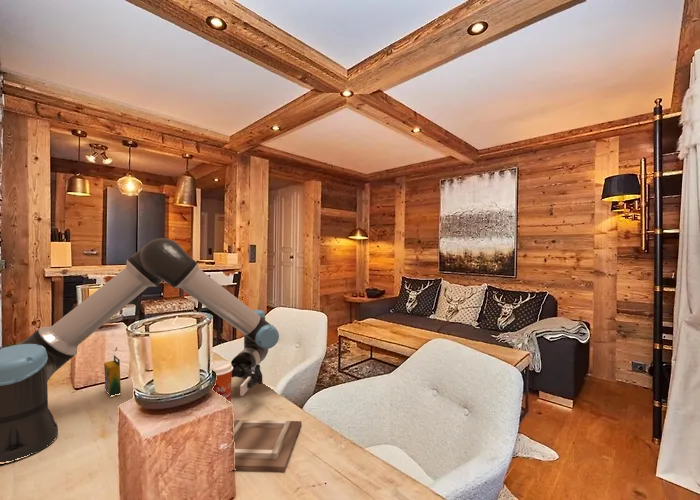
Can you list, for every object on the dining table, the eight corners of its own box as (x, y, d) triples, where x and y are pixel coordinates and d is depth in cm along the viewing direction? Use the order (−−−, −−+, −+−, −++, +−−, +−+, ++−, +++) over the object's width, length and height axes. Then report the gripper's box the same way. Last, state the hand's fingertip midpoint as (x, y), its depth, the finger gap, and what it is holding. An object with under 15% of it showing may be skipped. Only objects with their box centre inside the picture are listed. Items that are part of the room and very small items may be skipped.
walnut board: (202, 469, 71) (201, 458, 71) (235, 424, 89) (235, 415, 89) (284, 472, 70) (284, 460, 70) (301, 425, 88) (301, 416, 88)
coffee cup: (223, 427, 88) (222, 371, 87) (195, 424, 89) (194, 369, 89) (239, 412, 96) (239, 360, 96) (214, 409, 98) (213, 358, 97)
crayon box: (104, 391, 110) (103, 356, 110) (115, 388, 112) (114, 354, 112) (110, 398, 105) (109, 362, 105) (121, 395, 108) (120, 359, 107)
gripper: (281, 374, 112) (262, 404, 91) (209, 373, 113) (173, 403, 92) (281, 352, 112) (261, 377, 91) (209, 351, 113) (172, 376, 92)
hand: (217, 390), depth 91 cm, fingers open, 13 cm apart
